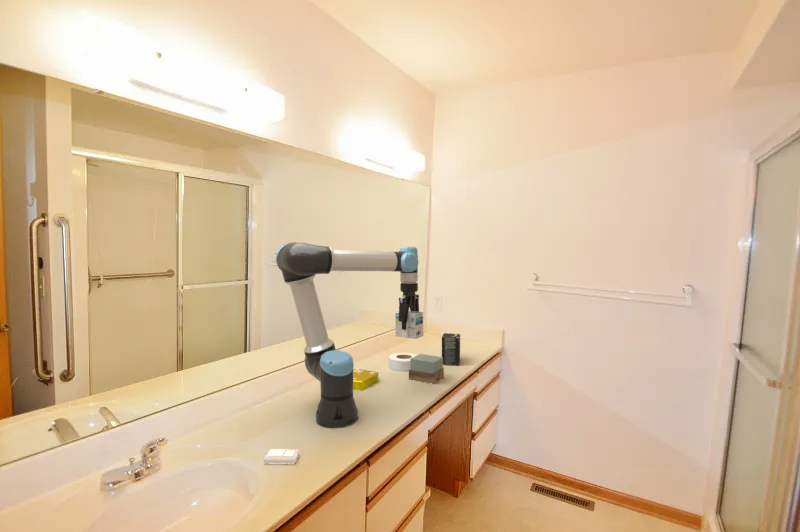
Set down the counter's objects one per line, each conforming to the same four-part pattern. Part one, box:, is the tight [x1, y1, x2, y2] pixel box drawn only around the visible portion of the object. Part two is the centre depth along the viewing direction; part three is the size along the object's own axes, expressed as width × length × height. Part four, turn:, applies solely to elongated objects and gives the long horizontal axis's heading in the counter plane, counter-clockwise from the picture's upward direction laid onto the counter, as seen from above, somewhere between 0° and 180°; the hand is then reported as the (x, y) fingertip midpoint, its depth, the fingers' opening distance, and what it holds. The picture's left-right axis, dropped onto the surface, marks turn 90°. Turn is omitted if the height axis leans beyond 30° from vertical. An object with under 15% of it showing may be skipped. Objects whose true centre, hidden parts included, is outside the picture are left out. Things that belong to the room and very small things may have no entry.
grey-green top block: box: [410, 353, 444, 374], centre depth 190 cm, size 10×12×5 cm
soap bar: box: [263, 448, 301, 465], centre depth 118 cm, size 5×9×3 cm, turn 89°
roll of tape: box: [388, 352, 418, 372], centre depth 208 cm, size 16×16×6 cm
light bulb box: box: [394, 310, 424, 340], centre depth 176 cm, size 11×7×11 cm, turn 57°
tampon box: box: [441, 332, 461, 367], centre depth 215 cm, size 11×9×15 cm
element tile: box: [353, 367, 379, 391], centre depth 184 cm, size 15×15×5 cm
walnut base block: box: [408, 367, 445, 385], centre depth 190 cm, size 11×13×5 cm
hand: (409, 335), depth 176 cm, fingers closed on light bulb box, 7 cm apart
